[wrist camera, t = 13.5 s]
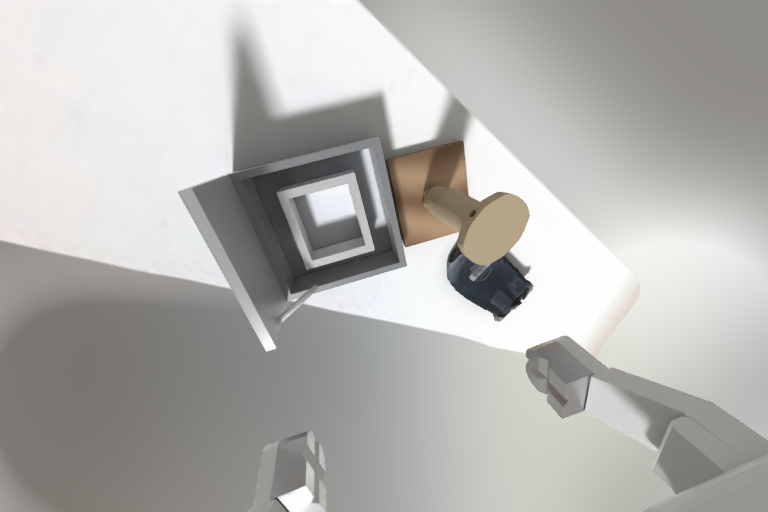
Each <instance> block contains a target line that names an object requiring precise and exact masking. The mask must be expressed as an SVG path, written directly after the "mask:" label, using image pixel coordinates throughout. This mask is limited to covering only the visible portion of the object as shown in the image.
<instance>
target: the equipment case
mask: <svg viewBox="0 0 768 512" xmlns="http://www.w3.org/2000/svg"><path fill="white" fill-rule="evenodd" d="M366 148H369V151H370V155H371V159H372V164H373V168H374V172H375V177H376V181H377V185H378V190H379V194H380V198H381V203H382V207H383V211H384V216H385V220H386V224H387V229H388V233H389V237H390V242H391V246H392V250H389V251H386V252H382V253H379V254H375V255H372V256H368V257H365V258H362V259H358V260H355V261H351V262H348V263H344V264H341V265H338V266H334V267H331V268H327V269H324V270H320V271H317V272H314V273H310V274H307V275H303V276H300V277H296V278H295V277H294V275H293V272H292V270H291V268H290V265H289V263H288V261H287V258H286V256H285V254H284V251H283V249H282V247H281V244H280V242H279V240H278V237H277V235H276V233H275V230H274V228H273V225H272V223H271V221H270V218H269V216H268V214H267V211H266V209H265V207H264V204H263V202H262V200H261V197H260V195H259V193H258V190H257V188H256V186H255V183H254V181H253V179H252V177H256V176H260V175H264V174H267V173H271V172H275V171H279V170H283V169H287V168H291V167H295V166H299V165H303V164H307V163H311V162H315V161H319V160H322V159H326V158H330V157H334V156H338V155H342V154H346V153H350V152H354V151H358V150H362V149H366ZM347 183H348V187H349V191H350V194H351V198H352V201H353V205H354V209H355V212H356V216H357V219H358V223H359V227H360V230H361V234H362V237H359V238H355V239H352V240H348V241H345V242H341V243H338V244H334V245H331V246H327V247H324V248H320V249H317V250H313V249H312V246H311V244H310V241H309V238H308V236H307V233H306V230H305V228H304V225H303V222H302V219H301V217H300V214H299V211H298V209H297V206H296V203H295V201H294V198H295V197H298V196H302V195H306V194H310V193H313V192H317V191H321V190H325V189H329V188H332V187H336V186H340V185H344V184H347ZM178 193H179V195H180V197H181V199H182V201H183V202H184V204H185V206H186V208H187V210H188V211H189V213H190V215H191V217H192V219H193V220H194V222H195V224H196V226H197V228H198V229H199V231H200V233H201V235H202V237H203V238H204V240H205V242H206V244H207V246H208V247H209V249H210V251H211V253H212V255H213V256H214V258H215V260H216V262H217V264H218V265H219V267H220V269H221V271H222V273H223V274H224V276H225V278H226V280H227V282H228V283H229V285H230V287H231V289H232V291H233V292H234V294H235V296H236V298H237V300H238V301H239V303H240V305H241V307H242V308H243V310H244V312H245V314H246V316H247V317H248V319H249V321H250V323H251V325H252V326H253V328H254V330H255V331H256V333H257V335H258V337H259V339H260V341H261V343H262V344H263V346H264V348H265V350H266V351H269V350H272V349H275V348H277V343H278V339H279V335H280V331H281V326H282V322H283V321H284V320H285V319H286V318H287V317H288V316H289V315H290V314H291V313H293V312H294V311H295V310H296V309H297V308H298V307H299V306H300V305H301V304H302V303H303V302H305V301H306V300H307V299H308V298H309V297H310V296H311V295H312V294H314V293H317V292H321V291H324V290H327V289H331V288H334V287H338V286H341V285H344V284H348V283H351V282H354V281H358V280H361V279H364V278H368V277H371V276H374V275H378V274H381V273H384V272H388V271H391V270H395V269H398V268H401V267H405V266H407V264H406V259H405V254H404V249H403V245H402V240H401V235H400V230H399V226H398V221H397V216H396V211H395V207H394V202H393V197H392V192H391V188H390V183H389V178H388V173H387V169H386V164H385V159H384V154H383V150H382V145H381V140H380V137H371V138H367V139H363V140H359V141H355V142H351V143H347V144H343V145H339V146H335V147H331V148H327V149H323V150H319V151H315V152H311V153H307V154H303V155H299V156H295V157H291V158H287V159H283V160H279V161H275V162H271V163H267V164H263V165H259V166H255V167H251V168H247V169H243V170H239V171H235V172H232V173H229V174H226V175H223V176H221V177H218V178H215V179H212V180H209V181H207V182H204V183H201V184H198V185H195V186H193V187H190V188H187V189H184V190H181V191H179V192H178ZM276 194H277V196H278V199H279V201H280V204H281V206H282V209H283V211H284V214H285V216H286V219H287V221H288V224H289V226H290V229H291V231H292V234H293V236H294V239H295V242H296V244H297V247H298V249H299V252H300V254H301V257H302V259H303V262H304V264H305V267H306V269H307V270H308V269H312V268H315V267H319V266H322V265H326V264H329V263H333V262H336V261H340V260H343V259H346V258H350V257H353V256H357V255H360V254H364V253H367V252H371V251H374V250H375V248H374V245H373V241H372V237H371V233H370V229H369V225H368V222H367V218H366V214H365V210H364V206H363V202H362V199H361V195H360V191H359V187H358V183H357V180H356V176H355V172H354V171H353V170H352V169H350V170H347V171H343V172H339V173H335V174H331V175H327V176H324V177H320V178H316V179H312V180H308V181H304V182H301V183H297V184H293V185H289V186H285V187H281V188H280V189H279V190H278V191H277V192H276ZM297 298H299V299H298V300H297V301H296V302H295V303H293V304H292V305H291V306H290V307H289V308H288V309H287V310H286V311H285V309H286V305H287V301H291V300H294V299H297Z"/></svg>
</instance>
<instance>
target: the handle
mask: <svg viewBox="0 0 768 512" xmlns="http://www.w3.org/2000/svg"><path fill="white" fill-rule="evenodd" d="M423 205H424V206H425V207H427V209H428V210H429V212H430V213H431V214H432V215H433V216H434V217H435V218H436V219H438V220H439V221H441V222H442V223H444V224H446V225H448V226H450V227H452V228H454V229H456V230H458V231H459V232H460V233H459V237H458V241H457V243H458V246H459V249H460V250H461V252H462V253H463V254H464V255H465V256H466V257H467V258H468V259H470V260H471V261H472V262H474V263H476V264H478V265H489V264H491V263H492V262H494V261H496V260H498V259H499V258H501V257H503V256H504V255H505V254H506V253H507V252H508V251H509V250H510V249H511V248H512V247H513V246H514V245H515V244H516V242H517V241H518V240H519V239H520V237H521V236H522V234H523V232H524V229H525V227H526V224H527V222H528V219H529V216H530V215H529V209H528V207H527V205H526V203H525V202H524V201H523V200H522V199H521V198H519V197H518V196H515V195H513V194H509V193H504V192H497V193H495V194H493V195H491V196H489V197H487V198H486V199H484V200H482V201H481V202H479V201H477V200H475V199H473V198H471V197H470V196H468V195H466V194H464V193H462V192H461V191H458V190H456V189H453V188H449V187H443V186H438V185H435V186H434V187H432V188H430V189H426V190H425V191H424V200H423Z"/></svg>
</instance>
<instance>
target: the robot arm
mask: <svg viewBox="0 0 768 512" xmlns="http://www.w3.org/2000/svg"><path fill="white" fill-rule="evenodd" d="M526 357H527V358H528V359H529V361H528V362H527V364H526V372H527V375H528V377H529V379H530V381H531V383H532V384H533V385H534V387H535V388H536V389H537V390H538V391H540V392H542V393H544V394H546V397H547V402H548V403H549V404H550V405H551V407H552V408H553V409H554V410H555V411H556V412H557V414H559V416H560V417H561V418H565V417H568V416H571V415H574V414H576V413H579V412H582V411H585V413H587V414H589V415H591V416H593V417H594V418H596V419H598V420H600V421H602V422H604V423H605V424H607V425H609V426H611V427H612V428H614V429H616V430H618V431H620V432H621V433H623V434H625V435H627V436H629V437H630V438H632V439H634V440H636V441H638V442H639V443H641V444H643V445H645V446H646V447H648V448H650V449H652V450H654V451H655V452H657V454H656V457H655V459H654V461H653V463H652V469H653V471H654V472H655V474H656V475H658V477H659V478H660V479H661V480H662V481H663V482H664V483H665V484H666V485H667V486H668V487H669V488H670V489H671V490H672V491H673V492H674V493H675V494H676V495H674V496H672V497H670V498H667V499H665V500H663V501H661V502H659V503H657V504H654V505H652V506H650V507H648V508H645V509H643V510H641V511H639V512H768V440H766V439H765V438H763V437H762V436H760V435H759V434H758V433H756V432H755V431H753V430H752V429H750V428H749V427H747V426H746V425H744V424H743V423H742V422H740V421H739V420H737V419H736V418H734V417H732V416H731V415H730V414H728V413H727V412H725V411H724V410H723V409H721V408H720V407H718V406H717V405H715V404H714V403H712V402H710V401H706V400H704V399H701V398H698V397H695V396H692V395H689V394H687V393H684V392H681V391H678V390H675V389H672V388H670V387H667V386H664V385H661V384H658V383H655V382H653V381H649V380H647V379H644V378H641V377H638V376H635V375H632V374H630V373H627V372H624V371H621V370H618V369H615V368H609V369H608V368H607V367H606V366H605V365H603V364H602V363H601V362H600V361H598V360H597V359H596V358H595V357H593V356H592V355H591V354H590V353H588V352H587V351H586V350H585V349H583V348H582V347H581V346H580V345H578V344H577V343H576V342H575V341H574V340H572V339H571V338H570V337H568V336H561V337H559V338H556V339H554V340H550V341H547V342H545V343H542V344H540V345H537V346H535V347H532V348H529V349H528V350H527V351H526ZM325 473H326V471H325V458H324V453H323V449H322V447H321V445H320V443H319V442H316V441H315V435H314V434H313V432H312V430H309V431H306V432H303V433H300V434H298V435H295V436H292V437H289V438H286V439H284V440H280V441H277V442H275V443H272V444H269V445H267V446H265V448H264V450H263V452H262V457H261V463H260V469H259V474H258V480H257V487H256V492H255V497H254V503H253V508H250V509H248V510H247V512H326V488H325V486H324V485H323V483H322V482H321V481H322V479H323V477H324V475H325Z"/></svg>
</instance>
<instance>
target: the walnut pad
mask: <svg viewBox="0 0 768 512" xmlns="http://www.w3.org/2000/svg"><path fill="white" fill-rule="evenodd" d="M386 162H387V167H388V171H389V176H390V181H391V186H392V191H393V195H394V200H395V205H396V210H397V215H398V220H399V224H400V229H401V234H402V239H403V244H404V246H405V247H409V246H412V245H416V244H419V243H422V242H426V241H429V240H433V239H436V238H440V237H443V236H446V235H450V234H453V233H457V232H459V231H458V230H456V229H454V228H452V227H450V226H448V225H446V224H444V223H442V222H441V221H439V220H438V219H436V218H435V217H434V216H433V215H432V214H431V213H430V212H429V210H428V209H427V207H425V206H424V205H423V200H424V191H425V190H426V189H430V188H432V187H434V186H435V185H438V186H443V187H449V188H453V189H456V190H458V191H461V192H462V193H464V194H466V195H468V191H467V179H466V168H465V156H464V145H463V141H458V142H454V143H450V144H447V145H443V146H439V147H435V148H431V149H427V150H423V151H420V152H416V153H412V154H408V155H404V156H400V157H397V158H393V159H389V160H386Z"/></svg>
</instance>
